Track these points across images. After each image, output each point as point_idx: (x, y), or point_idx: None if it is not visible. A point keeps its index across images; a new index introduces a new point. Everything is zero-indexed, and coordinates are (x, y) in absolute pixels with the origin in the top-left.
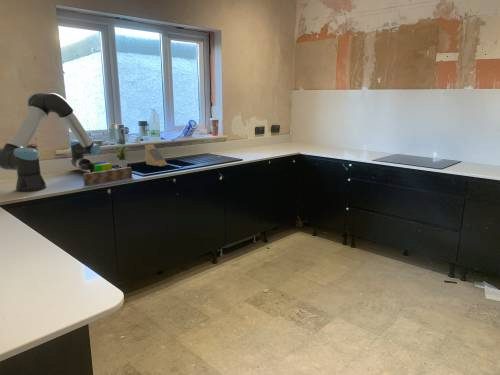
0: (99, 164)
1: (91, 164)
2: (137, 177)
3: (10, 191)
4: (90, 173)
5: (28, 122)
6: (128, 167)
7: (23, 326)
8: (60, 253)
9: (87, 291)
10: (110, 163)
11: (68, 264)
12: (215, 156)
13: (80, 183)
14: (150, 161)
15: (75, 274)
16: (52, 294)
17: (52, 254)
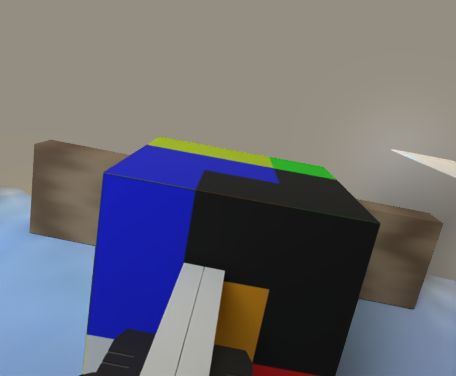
0: (273, 165)
1: (354, 199)
2: (20, 211)
3: None
4: (383, 204)
5: None
6: (67, 145)
7: (449, 161)
8: (440, 170)
9: (411, 155)
10: (165, 139)
11: (428, 164)
12: None
13: (452, 366)
14: None
15: (421, 160)
16: (436, 161)
17: (448, 172)
